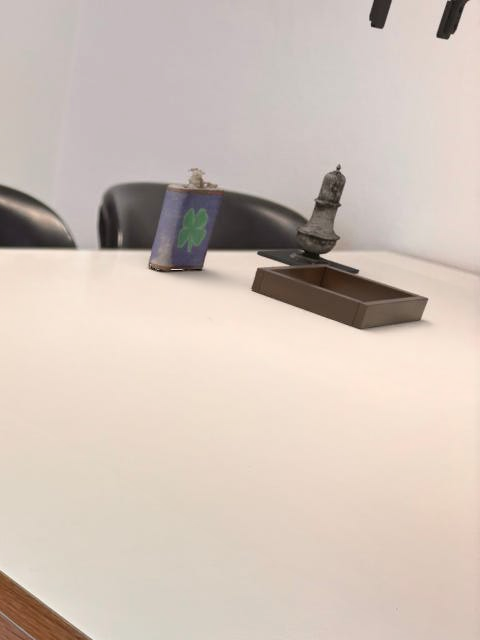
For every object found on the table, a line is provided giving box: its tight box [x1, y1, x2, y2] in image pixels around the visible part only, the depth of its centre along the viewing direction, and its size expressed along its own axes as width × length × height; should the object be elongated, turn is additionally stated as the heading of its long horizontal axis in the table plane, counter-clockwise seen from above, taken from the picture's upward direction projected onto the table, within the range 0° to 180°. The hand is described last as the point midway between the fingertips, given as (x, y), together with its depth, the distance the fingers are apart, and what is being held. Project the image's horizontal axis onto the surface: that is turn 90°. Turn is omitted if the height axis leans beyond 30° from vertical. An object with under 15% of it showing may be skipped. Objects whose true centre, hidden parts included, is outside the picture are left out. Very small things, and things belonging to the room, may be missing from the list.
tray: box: [250, 264, 429, 330], centre depth 121 cm, size 15×14×2 cm
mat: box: [256, 249, 360, 274], centre depth 142 cm, size 10×10×1 cm
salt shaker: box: [290, 163, 347, 266], centre depth 139 cm, size 6×6×12 cm
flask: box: [147, 167, 225, 271], centre depth 121 cm, size 9×3×11 cm, turn 133°
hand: (408, 33), depth 126 cm, fingers open, 8 cm apart
